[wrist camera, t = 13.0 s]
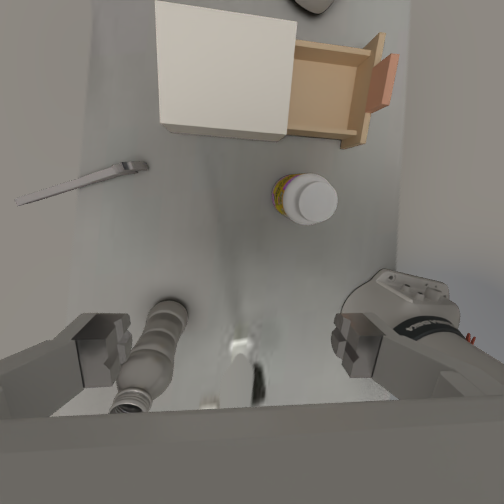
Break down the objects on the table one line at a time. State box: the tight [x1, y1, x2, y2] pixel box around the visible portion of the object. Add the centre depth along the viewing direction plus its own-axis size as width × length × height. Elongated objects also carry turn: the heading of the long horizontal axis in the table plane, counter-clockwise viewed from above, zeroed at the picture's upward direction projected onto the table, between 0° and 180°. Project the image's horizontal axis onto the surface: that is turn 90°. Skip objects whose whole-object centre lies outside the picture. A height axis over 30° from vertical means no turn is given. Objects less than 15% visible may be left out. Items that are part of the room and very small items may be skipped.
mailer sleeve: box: [155, 0, 297, 142], centre depth 31 cm, size 16×12×6 cm
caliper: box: [15, 161, 148, 206], centre depth 33 cm, size 20×1×6 cm, turn 105°
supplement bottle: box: [272, 173, 338, 225], centre depth 33 cm, size 7×7×13 cm
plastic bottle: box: [108, 301, 188, 414], centre depth 33 cm, size 6×7×20 cm
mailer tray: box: [287, 32, 399, 149], centre depth 30 cm, size 16×12×9 cm
